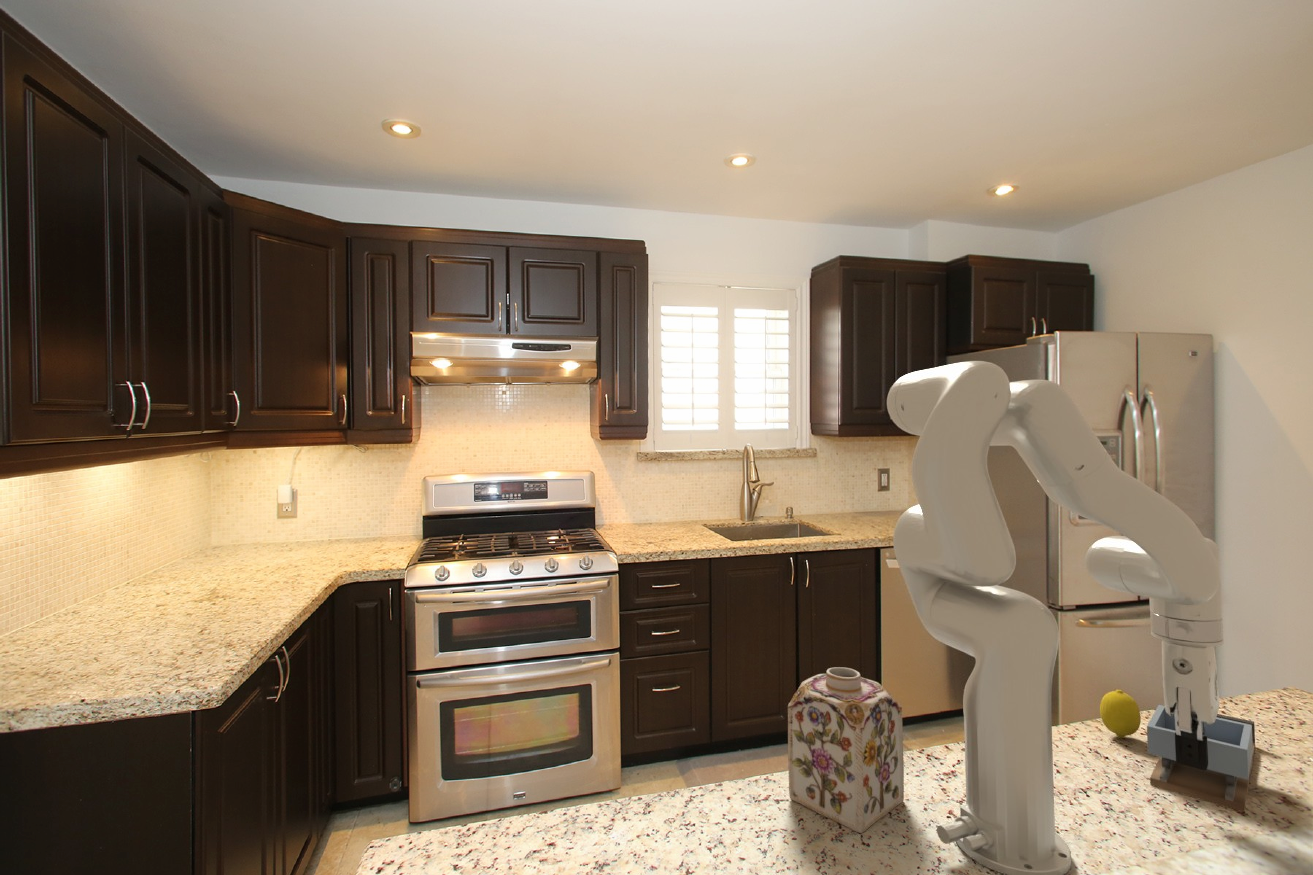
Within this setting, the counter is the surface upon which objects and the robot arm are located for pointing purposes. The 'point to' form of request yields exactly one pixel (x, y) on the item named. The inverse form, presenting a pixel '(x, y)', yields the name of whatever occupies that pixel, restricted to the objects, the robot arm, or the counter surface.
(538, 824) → the counter surface
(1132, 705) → the lemon
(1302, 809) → the counter surface
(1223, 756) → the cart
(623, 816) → the counter surface
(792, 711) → the decorative jar
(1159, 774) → the track
